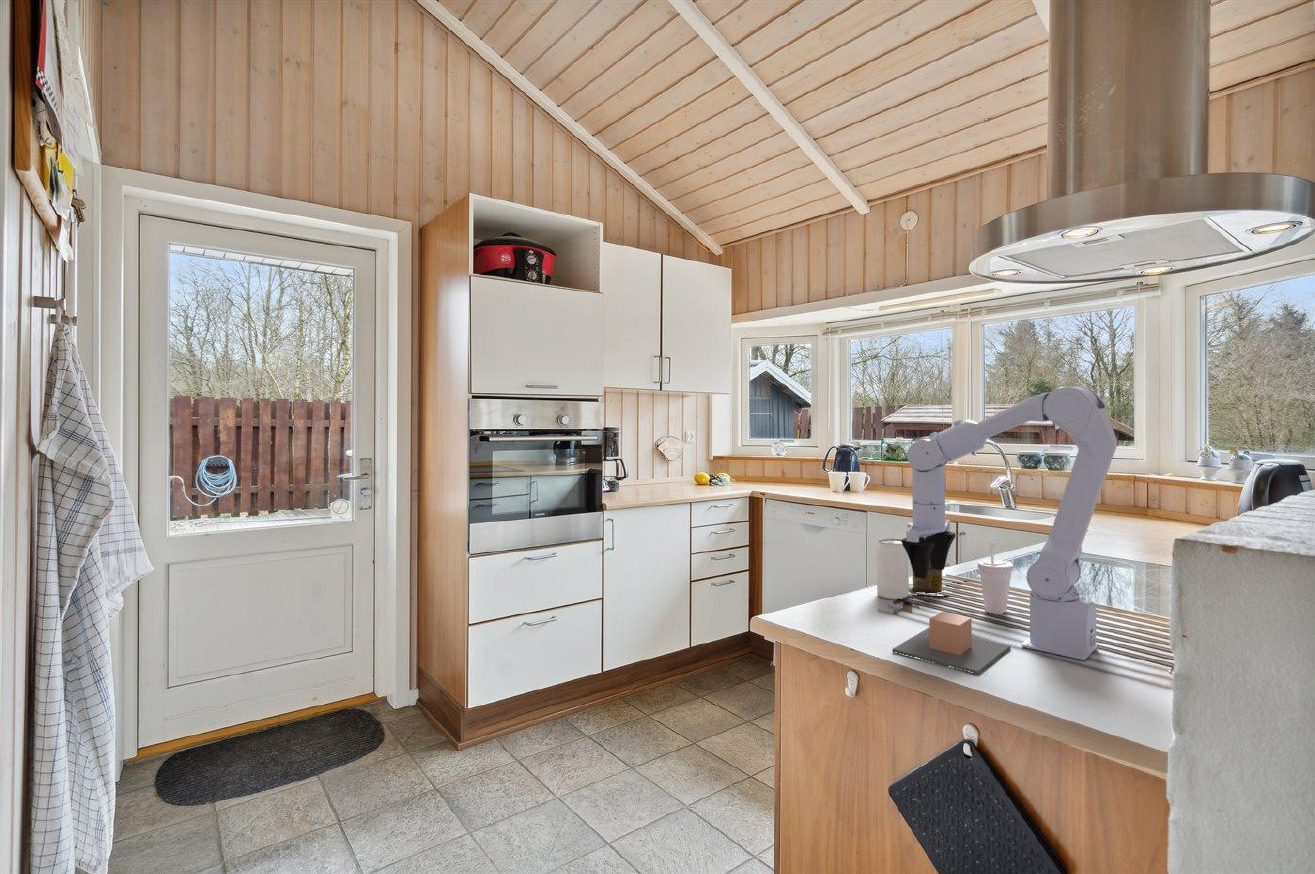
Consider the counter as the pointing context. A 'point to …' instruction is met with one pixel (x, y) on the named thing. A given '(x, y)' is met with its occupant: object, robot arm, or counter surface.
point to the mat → (969, 660)
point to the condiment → (927, 581)
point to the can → (892, 569)
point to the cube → (950, 633)
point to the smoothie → (995, 583)
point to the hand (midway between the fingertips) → (929, 573)
